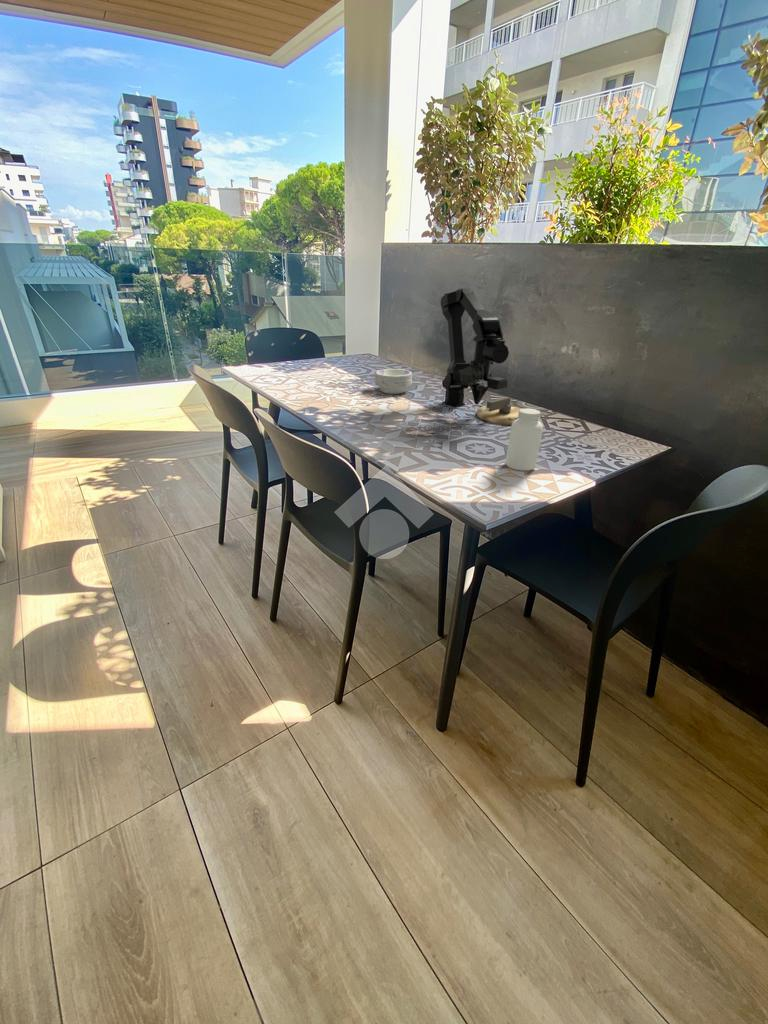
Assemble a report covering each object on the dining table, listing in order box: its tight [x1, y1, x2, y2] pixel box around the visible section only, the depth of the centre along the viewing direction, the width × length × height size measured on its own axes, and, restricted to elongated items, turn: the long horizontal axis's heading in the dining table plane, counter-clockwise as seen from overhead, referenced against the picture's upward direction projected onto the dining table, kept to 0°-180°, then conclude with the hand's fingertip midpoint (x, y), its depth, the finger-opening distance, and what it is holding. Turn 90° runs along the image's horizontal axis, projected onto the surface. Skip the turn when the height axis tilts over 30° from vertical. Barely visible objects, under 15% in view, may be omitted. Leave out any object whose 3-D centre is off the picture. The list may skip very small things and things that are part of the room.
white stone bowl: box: [374, 368, 413, 395], centre depth 185 cm, size 15×15×8 cm
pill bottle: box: [505, 408, 544, 472], centre depth 117 cm, size 8×8×15 cm
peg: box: [481, 396, 513, 413], centre depth 154 cm, size 15×4×5 cm, turn 131°
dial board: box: [476, 405, 522, 426], centre depth 159 cm, size 19×19×2 cm
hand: (476, 404), depth 157 cm, fingers closed
